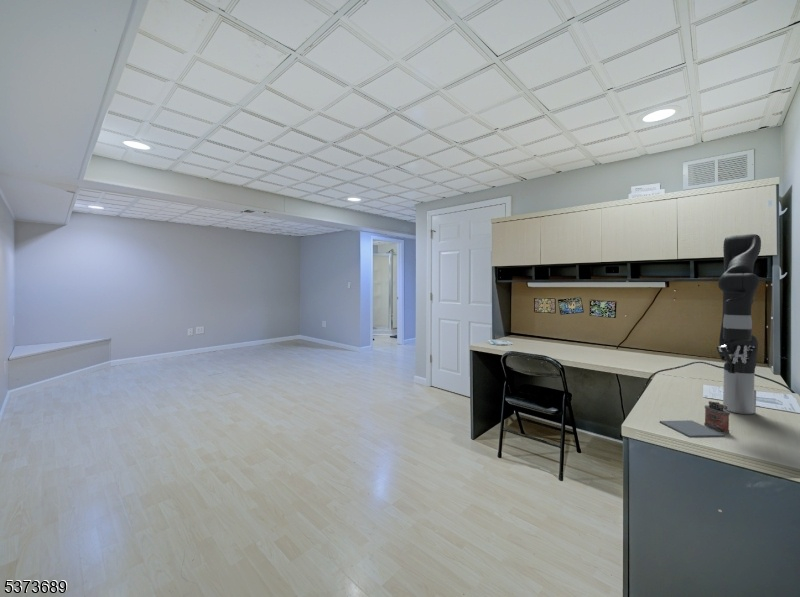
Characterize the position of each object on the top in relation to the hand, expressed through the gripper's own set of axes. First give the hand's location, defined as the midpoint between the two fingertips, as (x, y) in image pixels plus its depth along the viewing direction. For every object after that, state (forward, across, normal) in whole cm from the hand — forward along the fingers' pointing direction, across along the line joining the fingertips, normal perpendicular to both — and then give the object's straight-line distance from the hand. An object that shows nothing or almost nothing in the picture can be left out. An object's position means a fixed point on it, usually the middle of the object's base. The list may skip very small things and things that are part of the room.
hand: (735, 372), depth 124 cm
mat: (+21, +17, 0) cm, 27 cm away
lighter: (+21, +7, 0) cm, 22 cm away
